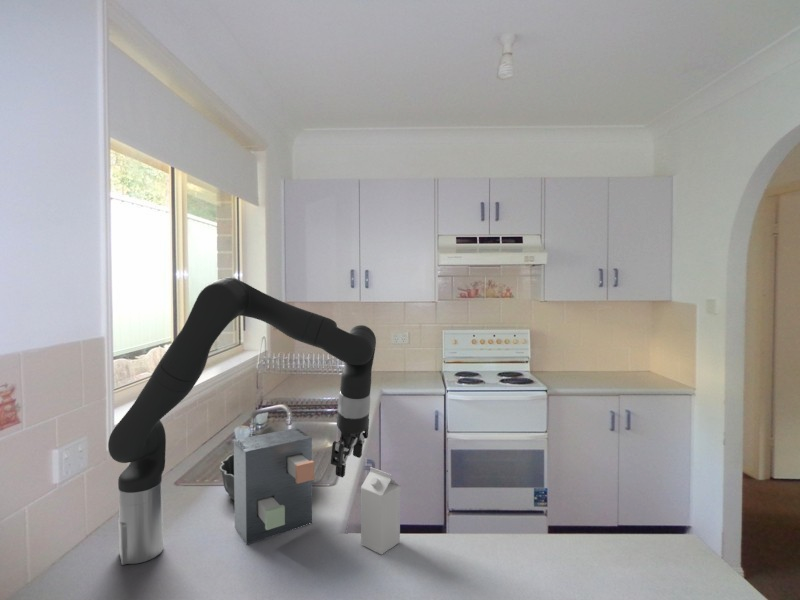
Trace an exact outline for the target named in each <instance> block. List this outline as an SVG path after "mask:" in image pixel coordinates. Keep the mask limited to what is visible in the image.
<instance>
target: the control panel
mask: <svg viewBox="0 0 800 600" xmlns="http://www.w3.org/2000/svg"><path fill="white" fill-rule="evenodd" d="M312 444H313V437H312V436H310V435H309V434H307V433H306V432H304V431H303V430H301V429H300V428H298V427H294V428H287V429H283V430H279V431H273V432H267V433H264V434H259V435H258V434H257V435H252V436H247V437H242V438H238V439H233V454H234V528H235V530H236V531H237V533H238V534H239V536H240V537H241V539H242V540H243V542H244V543H245V544H246V545H249V544H253V543H257V542H259V541H262V540H265V539H268V538H271V537H275V536H277V535H280V534H284V533H286V532H290V531H293V530H296V529H298V527H299V528H301V526H302V527H304V526H303V525H305V526H307V525H306V524H308V525H310V524H309V523H311V524H313V480H310V481H306V482H302V483H299V484H297V483H296V479H295V478H294V477H293V476H292V475H291V474H290V473H288V472H287V471H286V457H288V456H292V455H296V454H301V455H302V456H303V457H305V458H306V459H307V460H309V461H311V460H313V445H312ZM270 496H272V497H273V498H274V499H275V500H276V501H277V502H278V504H279V505H284V506H285V525H282V526H279V527H276V528H272V529H269V530H266V529H265V523H264V522H263V521H262V520H261V518H260V517H259V516H258V515H257V500H259V499H263V498H266V497H270ZM295 528H296V529H295ZM292 529H293V530H292Z"/></svg>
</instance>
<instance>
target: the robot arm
mask: <svg viewBox="0 0 800 600" xmlns="http://www.w3.org/2000/svg"><path fill="white" fill-rule="evenodd" d="M239 316H242V317H248V318H251V319H255V320H259V321H262V322H264V323H266V324H267V325H268V324H269V325H270V326H271V327H273V328H275V329H276V330H278V331H279V332H281V333H282V334H283V335H286V336H287V337H289V338H291V339H294V340H295V341H298V342H301V343H303V344H306V345H308V346H309V345H310V346H312V347H315V348H319V349H322V350H323V351H325V352H326V353H327V354H329V355H331V356H333V357H334V358H336V359H338V360H339V361H341V362H343V363H344V366H343V370H342V372H341V377H340V387H339V396H338V399H337V400H338V402H337V412H336V413H337V416H336V426H337V429H339V431H340V435H339V440H338V441H336V440H334V441H333V443H332V448H331V455H330V456H331V458H330V465H332V466H335V476H338V477H340V478H344V477H345V476H346V465H347V464H346V463H347V460H348V458H349V457H350V456H351V454H352V456H353V457H356V458H358V459H361V458H362V456H363V445H364V444H365V440H367V439H368V438H369V426H370V408H371V387H372V369H373V364H374V357H375V352H376V347H377V345H376V344H377V338H376V335H375V333H374V331H373V330H372V329H371V328H370V327H368V326H367V325H363V324H360V325H356V326H355V325H354V327H352V328H351V329H350V330H348V332H347V331H345V330H343V329H341V328H340V327H338V326H337V325H338V324H337V322H336V321H335V320H334V319H331V318H329V317H326V316H323V315H320V314H318V313H315V312H311V311H309V310H306V309H303V308H299V307H297V306H294V305H292V304H289V303H287V302H285V301H283V300H280V299H277V298H275V297H273V296H271V295H269V294H266V293H265V292H262V291H260V290H259V289H257V288H255V287H254V286H252V285H250V284H248V283H246V282H244V281H242V280H239V279H237V278H235V277H229V276H228V277H221V278H218V279H216V280H215V281H212V282H210V283H208V284H207V285H205V286H204V287H203V288H202V289H201V290H200V292H199V293H198V296H197V297H196V300H195V302H194V304H193V306H192V309H191V310H190V312H189V314H188V317H187V319H186V321H185V323H184V324H183V327H182V329H181V330H180V332H179V333H178V334H177V336H176V337H175V338H174V340H172V342H171V344H170V346H169V347H168V348H167V350H166V351H165V353H164V354H163V355H162V357H161V359H160V361H159V362H158V364H157V365H156V367H155V368H154V370H153V372H152V374H151V376H150V377H149V379H148V380H147V382H146V383H145V385H144V387H143V388H142V389H141V391H140V393H139V394H138V396H137V397H136V399H135V401H134V402H133V404H132V406H130V408H129V409H128V410H127V412H125V414H124V415H123V417H122V418H121V419H120V420H119V422H118V423H117V424H116V426H115V427H114V428H113V430H112V432H111V433H110V436H109V439H108V443H107V444H108V445H107V447H108V453H109V455H110V457H111V459H112V460H114V461H116V462H117V463H121V464H127V463H129V465H128V466H127V467H126V468H125V469H124V470H123V471H122V472H121V473H120V475H119V476H118V479H117V480H118V483H117V484H118V516H117V517H118V518H117V520H118V555H119V558H120V564H121V565H122V566H124V565H127V564H130V565H133V564H140V563H141V564H142V563H145V562H147V561H151V560H153V559H155V558H156V557H158V556H159V555H160V554H161V553H162V552H163V550H164V529H163V526H164V523H163V484H162V483H163V482H162V481H163V479H162V476H163V473H164V471H165V467H166V448H167V446H166V444H167V439H166V438H167V437H166V430H165V427H164V425H163V423H162V421H161V420H162V418H164V417H165V416H166V415H167V414H168V413H169V412H170V411H172V410H173V409H174V408H176V407H177V405H178V404H179V403H181V402H182V401H183V400H184V399H185V398H186V397H187V396H188V395H189V393H191V391H192V389H193V388H194V386H195V385H196V383H197V382H198V381H199V379H200V377H201V376H202V374H203V372H204V370H205V367H206V365H207V362H208V358H209V354H210V351H211V348H212V347H213V345H214V343H215V342H216V340H217V339H218V337H219V336H220V335H221V334H222V332H223V331H224V330H225V329H226V328H227V327H228V325H229V324H230V323H231V322H232V321H233V320H234V319H237V318H238V317H239ZM345 449H348V450H345Z"/></svg>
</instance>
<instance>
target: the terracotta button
mask: <svg viewBox="0 0 800 600" xmlns="http://www.w3.org/2000/svg"><path fill="white" fill-rule="evenodd" d="M286 471H287V472H288V473H290V474H291V475H292V476H293V477H294V478H295V479H296V483H297V484H299V483H302V482H306V481H310V480H312V481H313V480H315V461H314V460H313V459H312V460H311V461H309V460H307V459H306V458H305V457H303V456H302V455H301V454H296V455H292V456H288V457H286Z"/></svg>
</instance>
